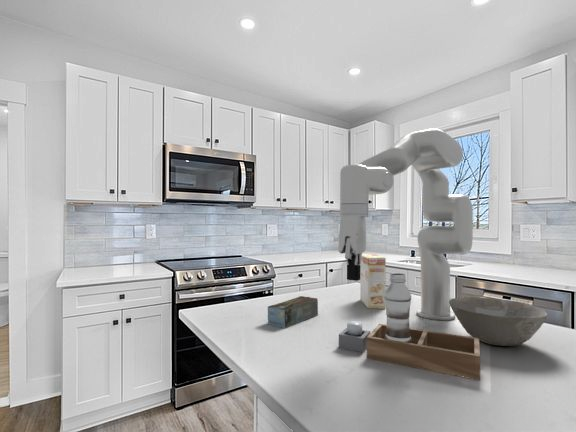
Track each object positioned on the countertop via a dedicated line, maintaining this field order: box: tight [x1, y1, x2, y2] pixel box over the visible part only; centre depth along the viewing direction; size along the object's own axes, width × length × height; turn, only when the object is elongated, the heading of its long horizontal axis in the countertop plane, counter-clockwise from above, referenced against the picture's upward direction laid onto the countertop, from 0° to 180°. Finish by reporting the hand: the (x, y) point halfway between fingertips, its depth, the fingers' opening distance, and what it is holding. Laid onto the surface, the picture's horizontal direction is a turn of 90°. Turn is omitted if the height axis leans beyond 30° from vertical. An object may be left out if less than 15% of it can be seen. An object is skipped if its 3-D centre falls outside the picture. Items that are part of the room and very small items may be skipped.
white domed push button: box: [346, 320, 363, 335], centre depth 90 cm, size 4×4×2 cm
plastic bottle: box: [384, 272, 412, 343], centre depth 84 cm, size 6×7×20 cm
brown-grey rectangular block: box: [267, 295, 319, 329], centre depth 114 cm, size 8×19×7 cm, turn 141°
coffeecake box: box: [359, 253, 387, 310], centre depth 136 cm, size 15×7×20 cm, turn 179°
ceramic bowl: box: [449, 296, 548, 347], centre depth 93 cm, size 22×23×10 cm
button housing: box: [338, 327, 371, 353], centre depth 90 cm, size 7×7×4 cm
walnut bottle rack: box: [366, 323, 481, 381], centre depth 82 cm, size 12×24×5 cm, turn 61°
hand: (353, 279), depth 90 cm, fingers closed
